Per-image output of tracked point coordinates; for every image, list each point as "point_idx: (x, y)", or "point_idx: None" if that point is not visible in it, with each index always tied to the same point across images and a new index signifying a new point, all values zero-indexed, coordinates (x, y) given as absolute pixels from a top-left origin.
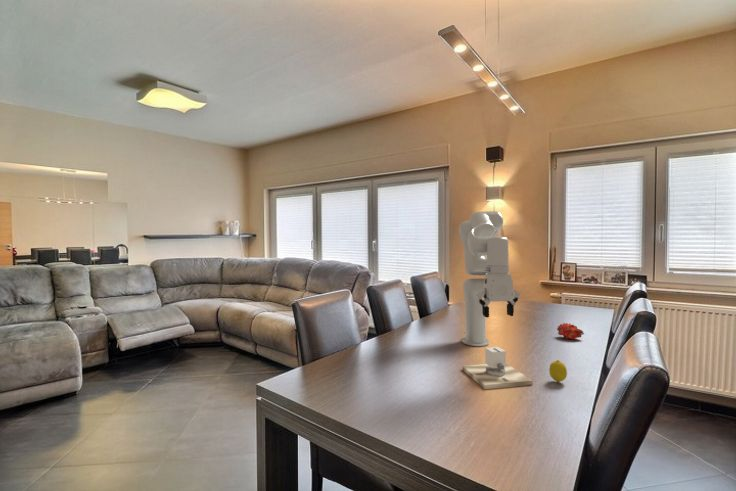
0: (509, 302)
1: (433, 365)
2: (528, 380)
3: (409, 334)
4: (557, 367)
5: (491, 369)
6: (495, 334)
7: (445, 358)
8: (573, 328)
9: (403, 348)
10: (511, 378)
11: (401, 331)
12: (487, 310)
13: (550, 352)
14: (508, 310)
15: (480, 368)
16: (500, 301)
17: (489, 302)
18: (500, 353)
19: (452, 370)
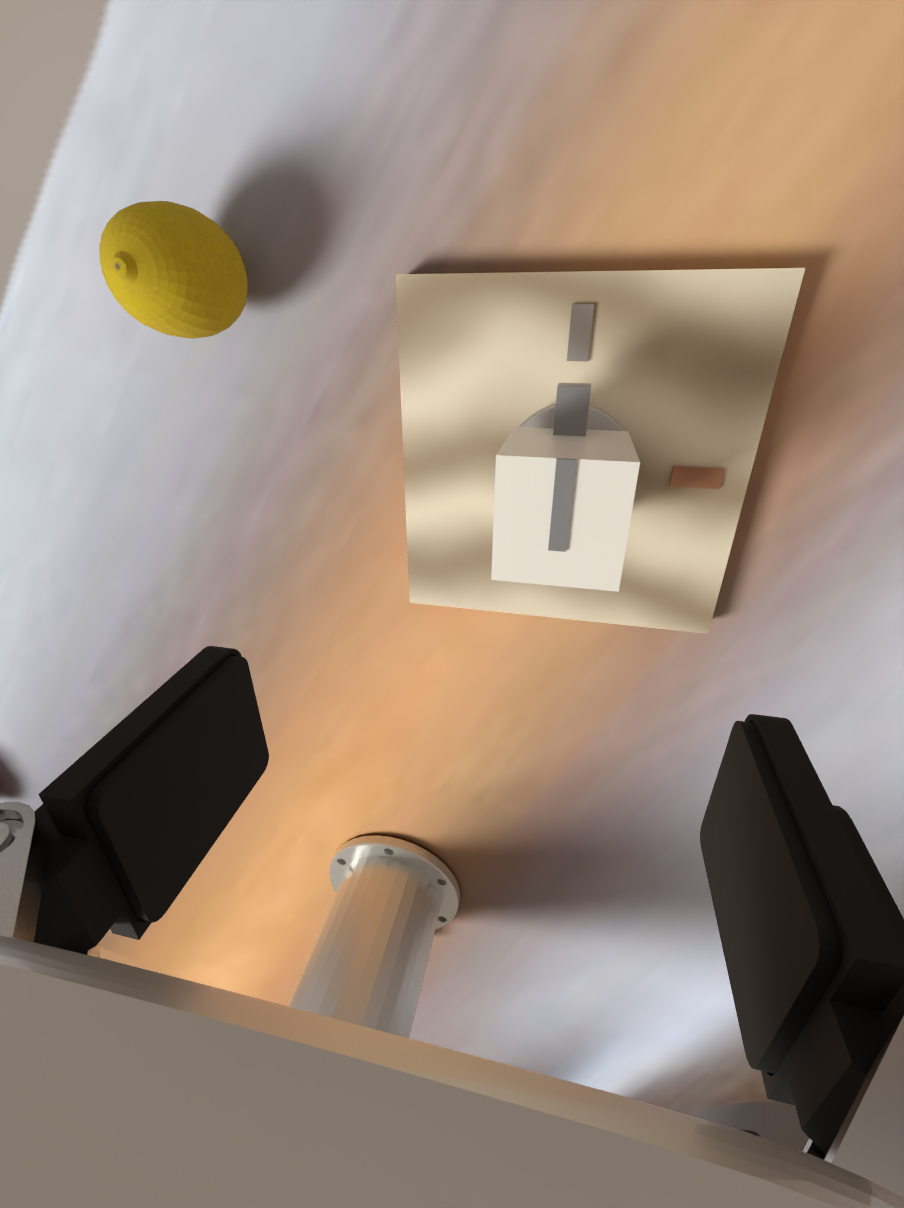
0: (57, 943)
1: (840, 728)
2: (422, 282)
3: (658, 1059)
4: (169, 221)
5: None
6: (255, 912)
7: (686, 784)
8: None
9: None
10: (519, 346)
11: (672, 1094)
12: (854, 851)
13: (99, 671)
14: (214, 784)
15: None
16: (384, 1032)
17: (856, 1163)
18: (551, 454)
19: (776, 629)
